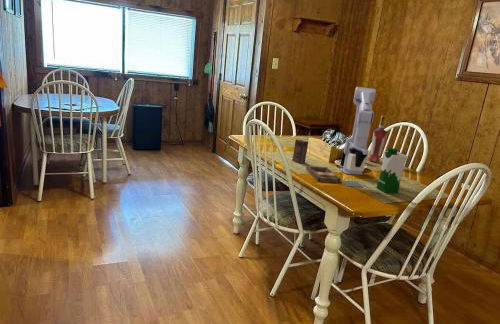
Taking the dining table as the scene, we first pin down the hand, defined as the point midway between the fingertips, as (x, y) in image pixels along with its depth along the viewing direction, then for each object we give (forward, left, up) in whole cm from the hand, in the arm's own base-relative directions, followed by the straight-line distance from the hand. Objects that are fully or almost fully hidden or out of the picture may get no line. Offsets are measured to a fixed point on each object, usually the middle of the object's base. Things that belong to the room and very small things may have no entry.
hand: (355, 165), depth 170 cm
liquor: (-36, -46, -10) cm, 59 cm away
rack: (+11, -11, -9) cm, 18 cm away
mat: (0, 0, -9) cm, 9 cm away
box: (+16, -34, -10) cm, 39 cm away
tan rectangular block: (+11, -6, -10) cm, 16 cm away
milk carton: (-15, +6, -10) cm, 19 cm away
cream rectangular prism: (0, 0, -2) cm, 2 cm away
